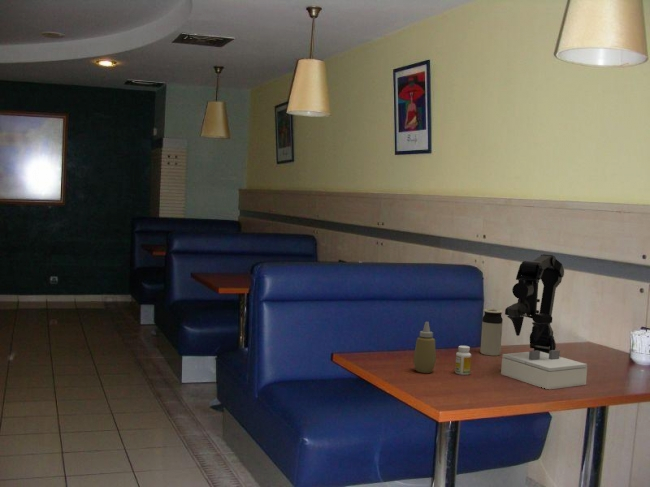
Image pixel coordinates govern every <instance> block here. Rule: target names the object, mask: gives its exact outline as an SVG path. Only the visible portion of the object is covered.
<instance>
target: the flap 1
mask: <svg viewBox="0 0 650 487" xmlns="http://www.w3.org/2000/svg"><path fill="white" fill-rule="evenodd" d="M502 358H508V359H511V360H514V361H518V362H521V363H524V364H526V361H532V360H542V359H549V354H548V353H545V352H541V351H538V350H535V351H534V350H529V351H524V352H523V351H522V352H513V353H503V354H502ZM559 358H562V356H559Z"/></svg>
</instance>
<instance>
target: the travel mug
mask: <svg viewBox="0 0 650 487" xmlns="http://www.w3.org/2000/svg"><path fill="white" fill-rule="evenodd" d="M483 312H484V315H483V317H482V321H481V323H482V325H481V339H480V351H479V353H480V354H481V355H484V356H490V357H491V356H493V357H497V356H499V355H501V349H502V348H501V347H502V334H503V320H504V319H503V317H502V314H503V310H501V309H494V308H485V309H483Z"/></svg>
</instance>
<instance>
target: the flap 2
mask: <svg viewBox="0 0 650 487" xmlns="http://www.w3.org/2000/svg"><path fill="white" fill-rule="evenodd" d="M560 352H561V350H559V349H555V350H550V351H549V359H542V360H532V361H526V364H528V365H531V366H534V367H537V368H541V369H544V370H547V371H556V370H565V369H574V368H583V367H586V368H588V363H585V362H582V361H576V360H574V359H570V358H566V357H564V356H563V357H562V356H560V355H561V354H560ZM559 357H562V358H559Z"/></svg>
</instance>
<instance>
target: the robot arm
mask: <svg viewBox="0 0 650 487" xmlns="http://www.w3.org/2000/svg"><path fill="white" fill-rule="evenodd" d="M564 276H565V269H564V266H563V264H562V262H560V261H559V260H558V259H556V256H555V255H553V254H545V253H544V254H540V256H538V257H537V258H535V259H533V260H523V261H522V262H521V263H520V265H519V267H518V271H517V274H516V277H515V280H516V281H518V282H517V283H515V284H514V285H513V286H512V289H511V291H512V294H513V296H514V297H515V298H516V299H517V302H516V303H513V304H511V305H509V306H507V307H506V308H505V310H504V315H505V316H506V317H507V318H508V319H510V320H511V322H512V325H513V327H514V331H515V335H516V336H517V337H518V336H520V334H521V331H522V328H523V322H524V318H529V319H532V321H533V322H531V324H532V325H533V326H532V327H531V333H530V334H529V348H530V349H533V351H535V350H538V351H541V352H545V353H548V354H549V351H550V350H556V349H557V348H556V346H557V344H556V339H555V336H554V330H553V328H552V325H551V323H552V324H553V309H554V303H555V296H556V291H557V290H556V289H557V288H558V286H559V285H561V283H562V281H563V280H562V279H563V278H564ZM540 280H541V282H542V284H543V288H542V294H541V299H540V298H538V296H539V295H538V294H539V283H540ZM538 303H540V306H539V308H540V309H538Z"/></svg>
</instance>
